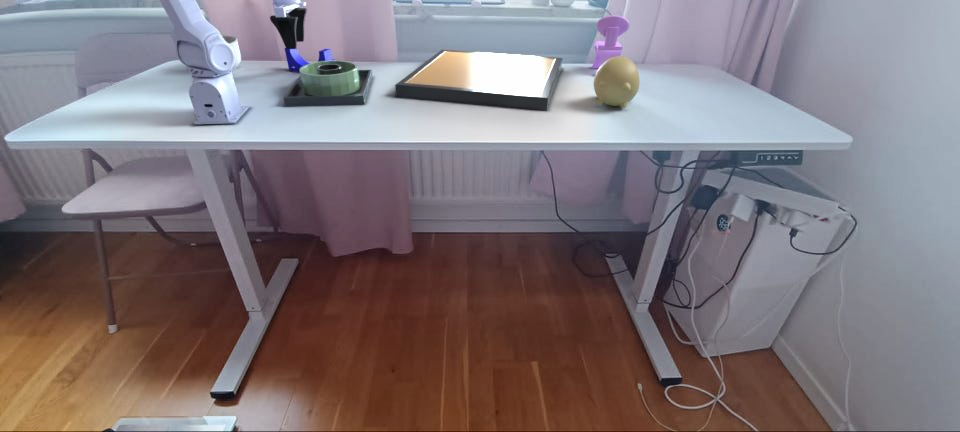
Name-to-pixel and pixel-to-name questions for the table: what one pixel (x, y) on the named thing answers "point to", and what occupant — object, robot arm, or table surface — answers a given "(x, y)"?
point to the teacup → (234, 44)
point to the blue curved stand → (297, 61)
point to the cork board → (484, 79)
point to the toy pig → (616, 82)
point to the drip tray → (302, 99)
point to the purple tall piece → (609, 38)
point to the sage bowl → (330, 79)
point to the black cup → (329, 69)
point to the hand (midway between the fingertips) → (295, 45)
